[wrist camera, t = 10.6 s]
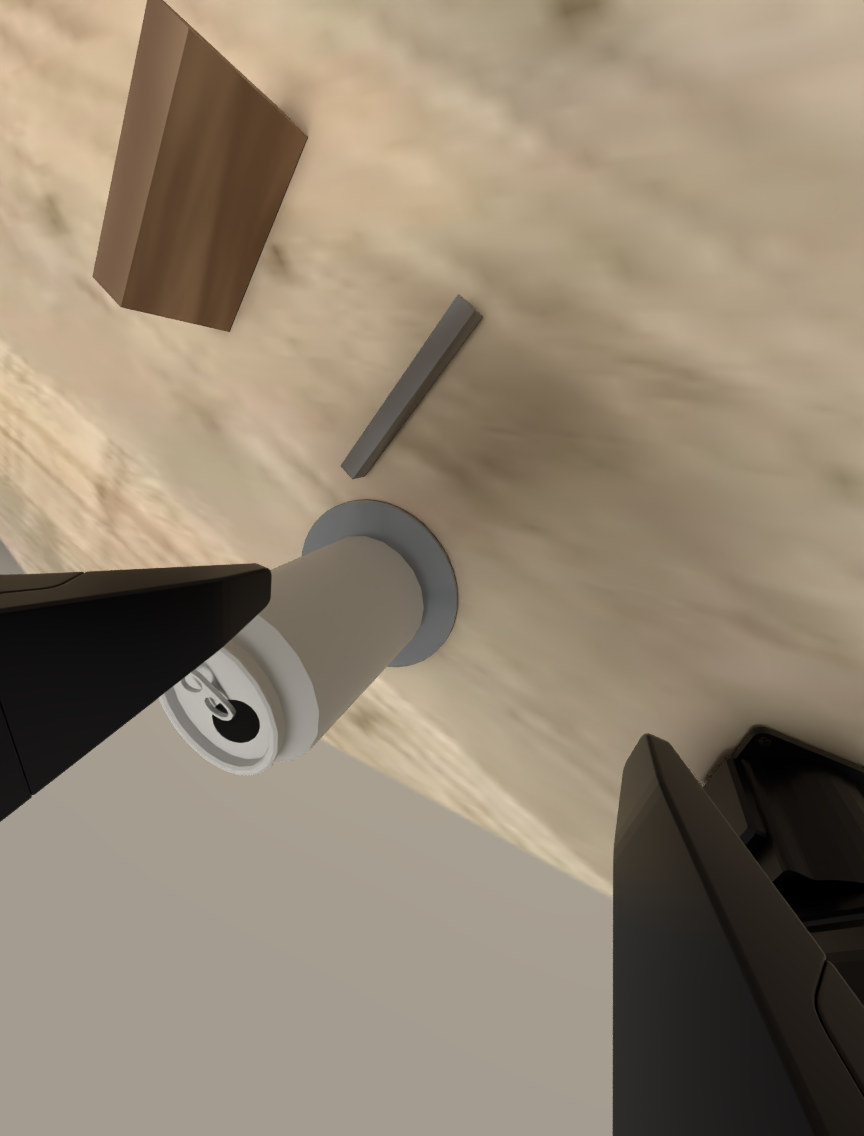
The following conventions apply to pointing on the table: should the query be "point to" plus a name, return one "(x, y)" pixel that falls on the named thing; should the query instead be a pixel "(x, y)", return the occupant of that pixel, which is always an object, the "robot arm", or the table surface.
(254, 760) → the can
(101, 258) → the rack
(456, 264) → the table surface
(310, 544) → the coaster
